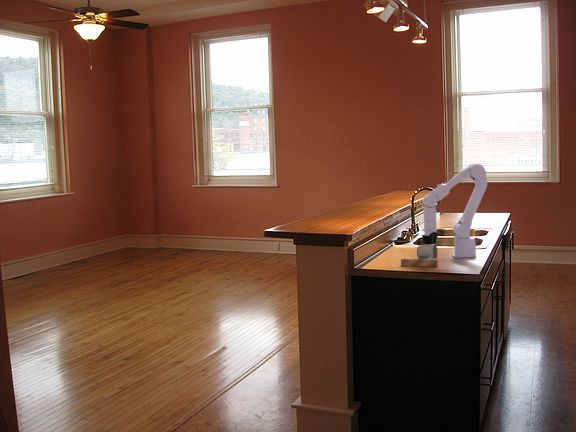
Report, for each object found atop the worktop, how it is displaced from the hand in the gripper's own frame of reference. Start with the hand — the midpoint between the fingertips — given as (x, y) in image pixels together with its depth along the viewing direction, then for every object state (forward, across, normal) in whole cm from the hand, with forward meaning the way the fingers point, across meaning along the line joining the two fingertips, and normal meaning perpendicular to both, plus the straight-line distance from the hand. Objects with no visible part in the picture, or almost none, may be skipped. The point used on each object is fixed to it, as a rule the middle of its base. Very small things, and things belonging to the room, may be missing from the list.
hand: (430, 248), depth 307 cm
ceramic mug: (+4, +9, 0) cm, 10 cm away
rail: (+4, +22, 0) cm, 23 cm away
